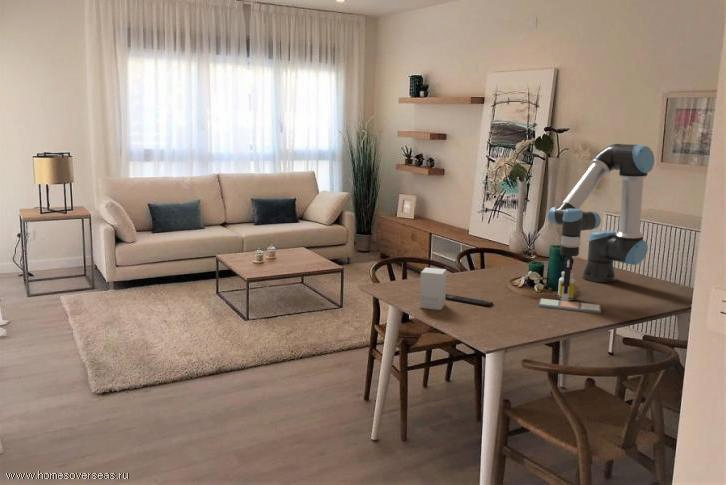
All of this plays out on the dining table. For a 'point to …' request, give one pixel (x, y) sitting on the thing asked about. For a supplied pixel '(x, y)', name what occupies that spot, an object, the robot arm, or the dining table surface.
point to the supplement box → (433, 288)
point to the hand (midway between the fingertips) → (565, 298)
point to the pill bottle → (571, 289)
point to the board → (570, 305)
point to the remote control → (469, 300)
